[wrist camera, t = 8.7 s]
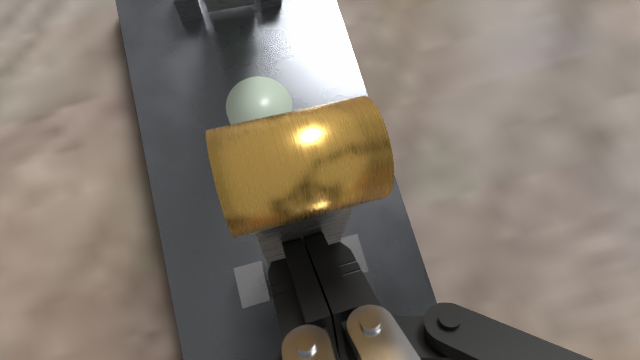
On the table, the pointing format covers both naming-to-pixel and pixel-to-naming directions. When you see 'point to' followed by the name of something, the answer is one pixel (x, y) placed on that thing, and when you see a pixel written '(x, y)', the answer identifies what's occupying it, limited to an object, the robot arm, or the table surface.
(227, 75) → the switch panel
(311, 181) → the lever handle
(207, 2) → the white lever
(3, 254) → the table surface
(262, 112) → the push button
